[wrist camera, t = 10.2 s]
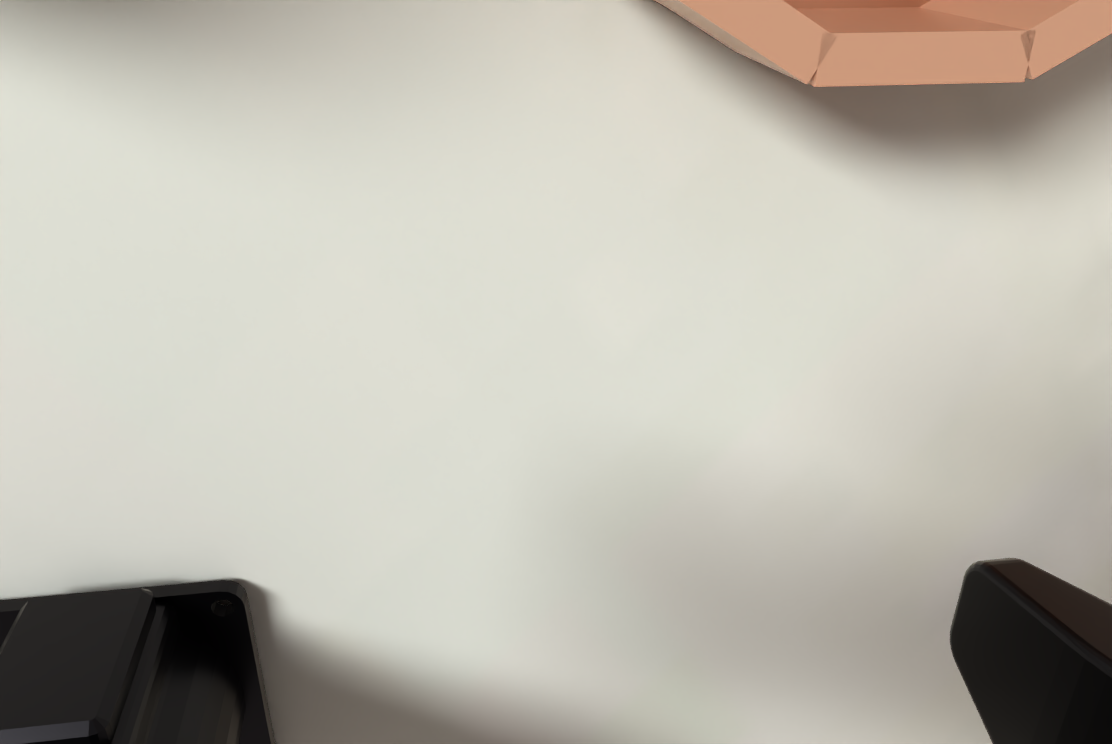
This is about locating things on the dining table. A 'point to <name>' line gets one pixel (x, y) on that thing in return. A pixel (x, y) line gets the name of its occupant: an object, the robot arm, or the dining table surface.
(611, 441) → the dining table surface
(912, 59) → the faceted terracotta bowl
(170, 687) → the robot arm
